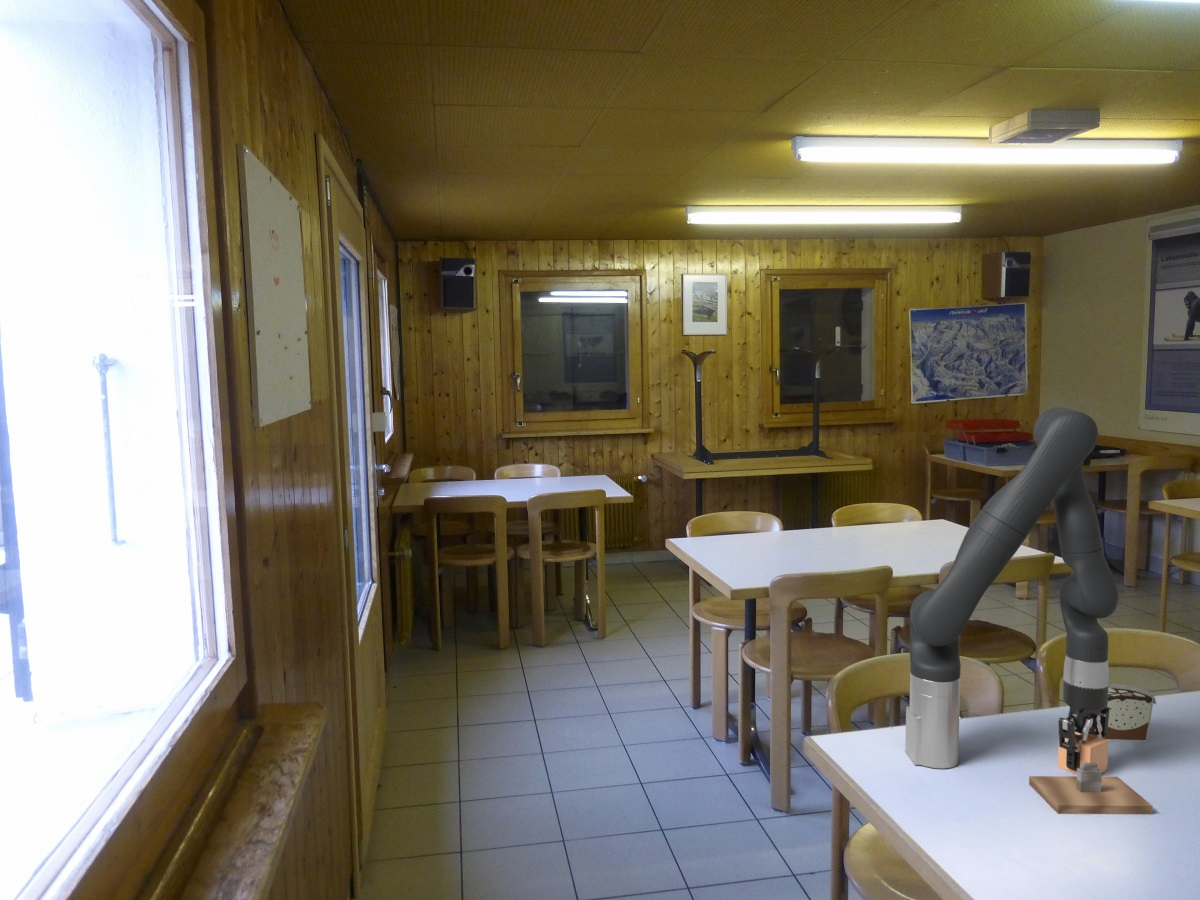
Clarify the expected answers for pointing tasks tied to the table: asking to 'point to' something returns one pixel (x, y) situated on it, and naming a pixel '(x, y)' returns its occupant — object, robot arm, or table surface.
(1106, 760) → the orange open box
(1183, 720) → the table surface
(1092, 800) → the base board
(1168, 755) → the table surface
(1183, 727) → the table surface
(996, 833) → the table surface
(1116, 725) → the food container
